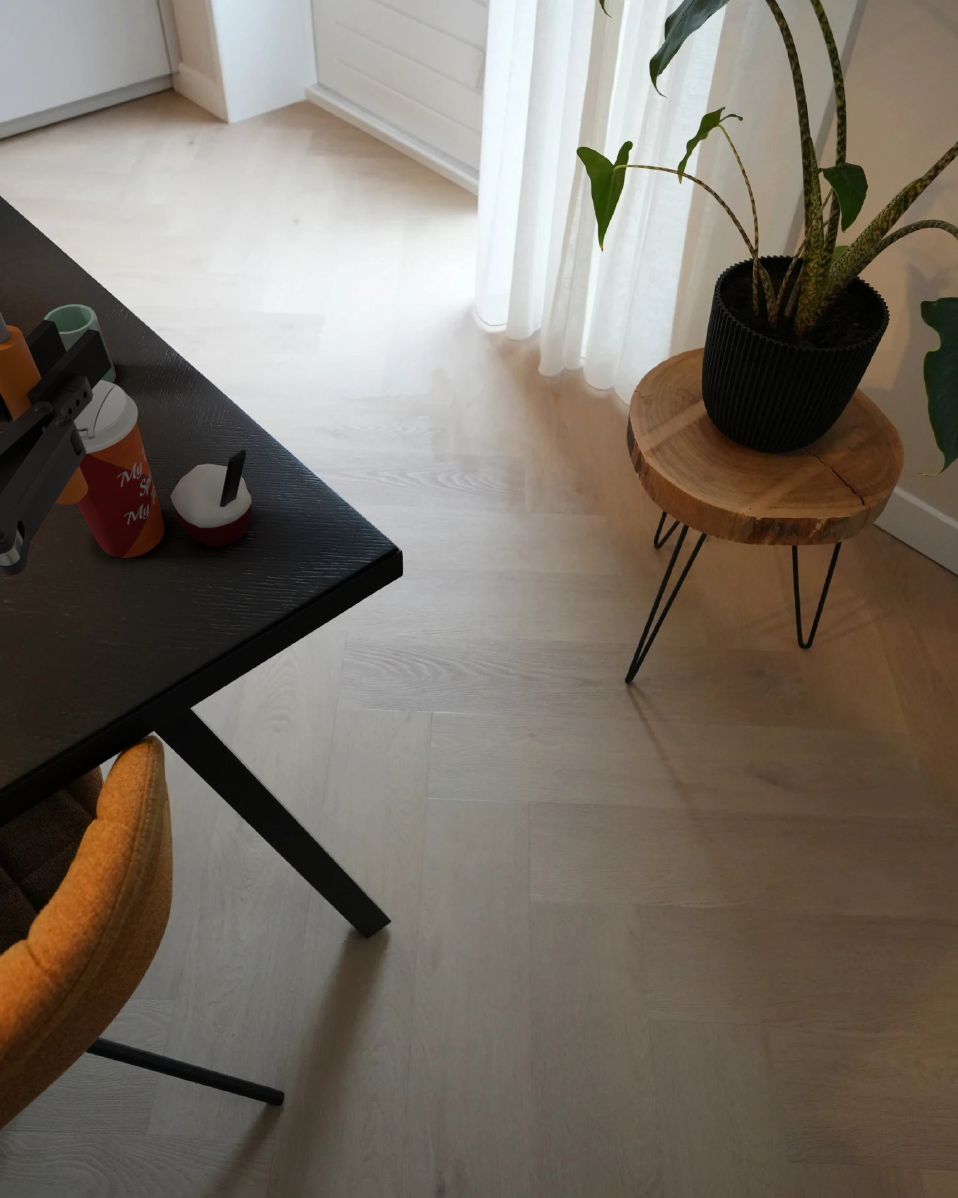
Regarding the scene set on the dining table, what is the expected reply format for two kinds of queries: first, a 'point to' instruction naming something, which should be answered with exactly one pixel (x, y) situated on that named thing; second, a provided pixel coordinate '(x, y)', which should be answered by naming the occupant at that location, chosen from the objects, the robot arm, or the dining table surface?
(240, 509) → the cocoa
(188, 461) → the dining table surface
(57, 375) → the robot arm
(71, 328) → the pencil cup
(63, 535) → the dining table surface
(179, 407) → the dining table surface
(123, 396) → the paper cup
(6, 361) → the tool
